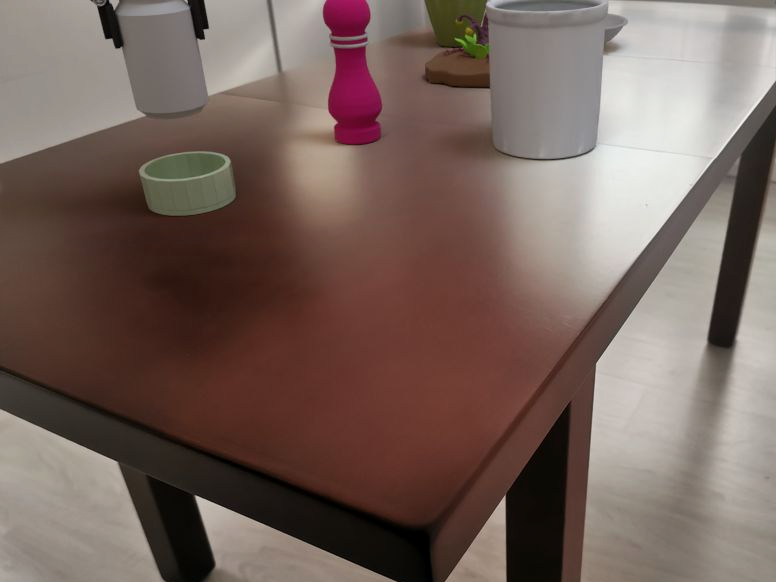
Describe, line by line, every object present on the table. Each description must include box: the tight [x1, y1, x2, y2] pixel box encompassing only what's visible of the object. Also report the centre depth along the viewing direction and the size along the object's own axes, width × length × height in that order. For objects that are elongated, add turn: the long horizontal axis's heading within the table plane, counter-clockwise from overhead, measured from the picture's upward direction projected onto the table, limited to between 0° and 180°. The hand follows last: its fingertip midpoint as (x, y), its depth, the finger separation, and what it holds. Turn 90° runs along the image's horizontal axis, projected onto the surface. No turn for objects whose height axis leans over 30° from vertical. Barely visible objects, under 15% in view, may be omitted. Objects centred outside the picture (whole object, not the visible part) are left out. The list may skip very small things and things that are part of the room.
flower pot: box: [423, 0, 488, 48], centre depth 157 cm, size 15×15×16 cm
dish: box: [604, 13, 629, 44], centre depth 154 cm, size 18×14×5 cm
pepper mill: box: [322, 0, 383, 146], centre depth 105 cm, size 7×7×20 cm
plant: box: [424, 11, 490, 88], centre depth 136 cm, size 20×20×11 cm
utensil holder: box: [485, 0, 609, 160], centre depth 102 cm, size 15×15×18 cm
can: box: [114, 0, 210, 121], centre depth 83 cm, size 8×8×12 cm
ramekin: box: [138, 150, 237, 217], centre depth 91 cm, size 10×10×4 cm
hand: (159, 40), depth 83 cm, fingers closed on can, 7 cm apart
